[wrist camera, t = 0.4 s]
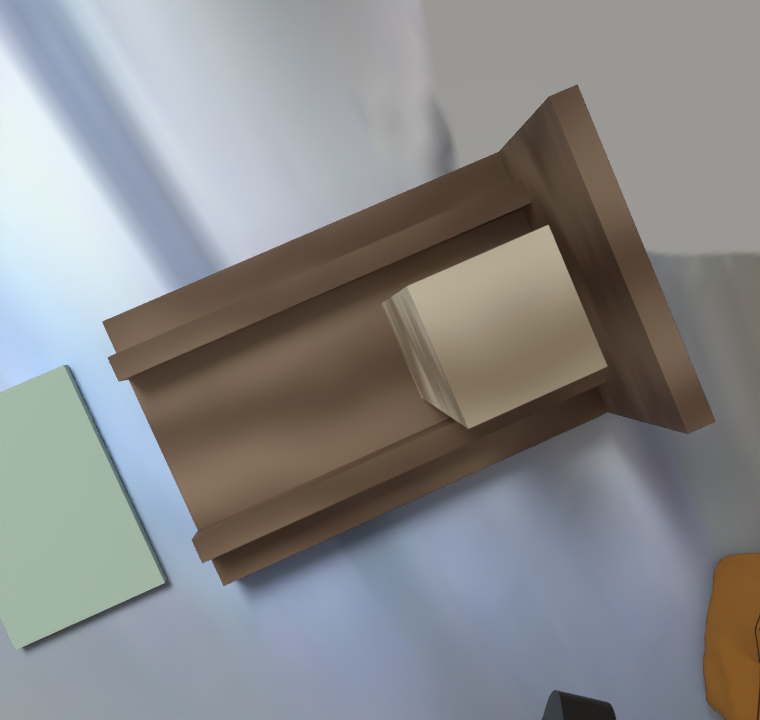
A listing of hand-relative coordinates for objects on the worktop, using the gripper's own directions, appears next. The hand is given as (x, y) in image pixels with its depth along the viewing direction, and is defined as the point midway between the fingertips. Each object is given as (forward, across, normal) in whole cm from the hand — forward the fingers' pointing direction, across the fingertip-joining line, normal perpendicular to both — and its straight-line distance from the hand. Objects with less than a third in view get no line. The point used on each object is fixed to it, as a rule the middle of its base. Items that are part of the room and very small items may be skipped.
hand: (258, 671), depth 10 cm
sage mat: (+22, +16, +13) cm, 30 cm away
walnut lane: (+27, +1, +4) cm, 27 cm away
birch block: (+26, -2, +1) cm, 26 cm away
